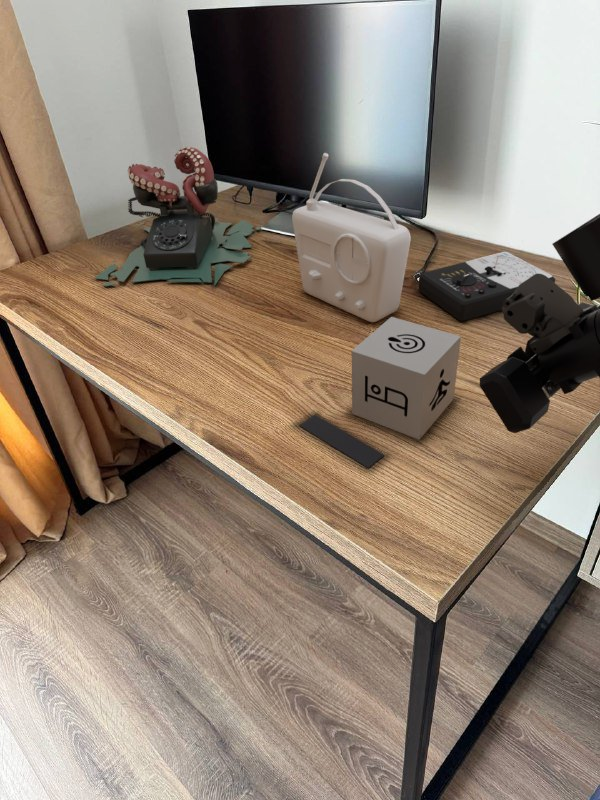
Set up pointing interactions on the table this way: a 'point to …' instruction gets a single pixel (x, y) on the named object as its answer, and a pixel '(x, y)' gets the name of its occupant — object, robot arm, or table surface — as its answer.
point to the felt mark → (342, 441)
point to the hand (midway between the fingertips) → (491, 388)
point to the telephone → (180, 226)
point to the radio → (351, 255)
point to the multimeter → (477, 284)
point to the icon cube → (404, 376)
